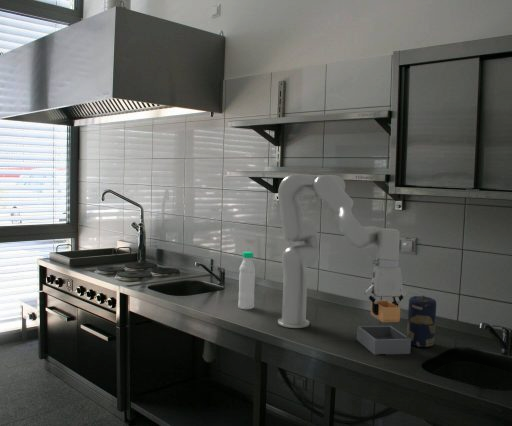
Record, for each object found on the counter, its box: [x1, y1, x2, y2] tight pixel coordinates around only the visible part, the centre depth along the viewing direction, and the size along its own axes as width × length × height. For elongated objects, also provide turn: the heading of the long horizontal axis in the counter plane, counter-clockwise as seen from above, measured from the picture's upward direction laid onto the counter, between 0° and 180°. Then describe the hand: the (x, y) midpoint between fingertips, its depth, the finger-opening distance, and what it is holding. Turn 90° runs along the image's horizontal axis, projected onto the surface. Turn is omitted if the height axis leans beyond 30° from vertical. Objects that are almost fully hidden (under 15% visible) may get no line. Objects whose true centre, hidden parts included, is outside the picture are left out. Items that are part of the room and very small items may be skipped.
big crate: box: [356, 325, 412, 356], centre depth 182 cm, size 16×13×5 cm
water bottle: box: [237, 251, 256, 310], centre depth 228 cm, size 7×7×25 cm
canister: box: [406, 295, 437, 348], centre depth 186 cm, size 10×10×18 cm
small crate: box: [370, 300, 401, 323], centre depth 182 cm, size 10×6×5 cm, turn 11°
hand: (384, 313), depth 182 cm, fingers closed on small crate, 6 cm apart
